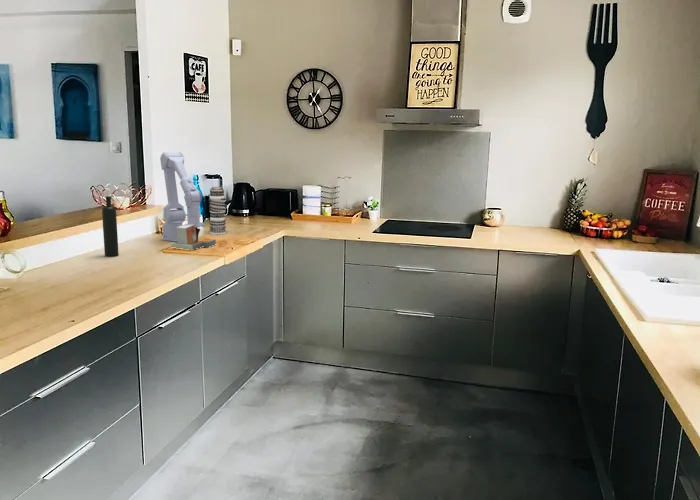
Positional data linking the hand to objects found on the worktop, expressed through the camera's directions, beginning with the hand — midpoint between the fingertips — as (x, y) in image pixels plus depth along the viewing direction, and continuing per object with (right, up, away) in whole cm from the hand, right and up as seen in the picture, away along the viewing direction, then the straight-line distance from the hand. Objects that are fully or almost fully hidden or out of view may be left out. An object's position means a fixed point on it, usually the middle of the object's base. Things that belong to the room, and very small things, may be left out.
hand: (194, 243), depth 289 cm
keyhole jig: (-1, -2, -2) cm, 3 cm away
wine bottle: (-30, -6, -25) cm, 40 cm away
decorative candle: (+4, +6, +34) cm, 35 cm away
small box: (-2, -2, -4) cm, 5 cm away
